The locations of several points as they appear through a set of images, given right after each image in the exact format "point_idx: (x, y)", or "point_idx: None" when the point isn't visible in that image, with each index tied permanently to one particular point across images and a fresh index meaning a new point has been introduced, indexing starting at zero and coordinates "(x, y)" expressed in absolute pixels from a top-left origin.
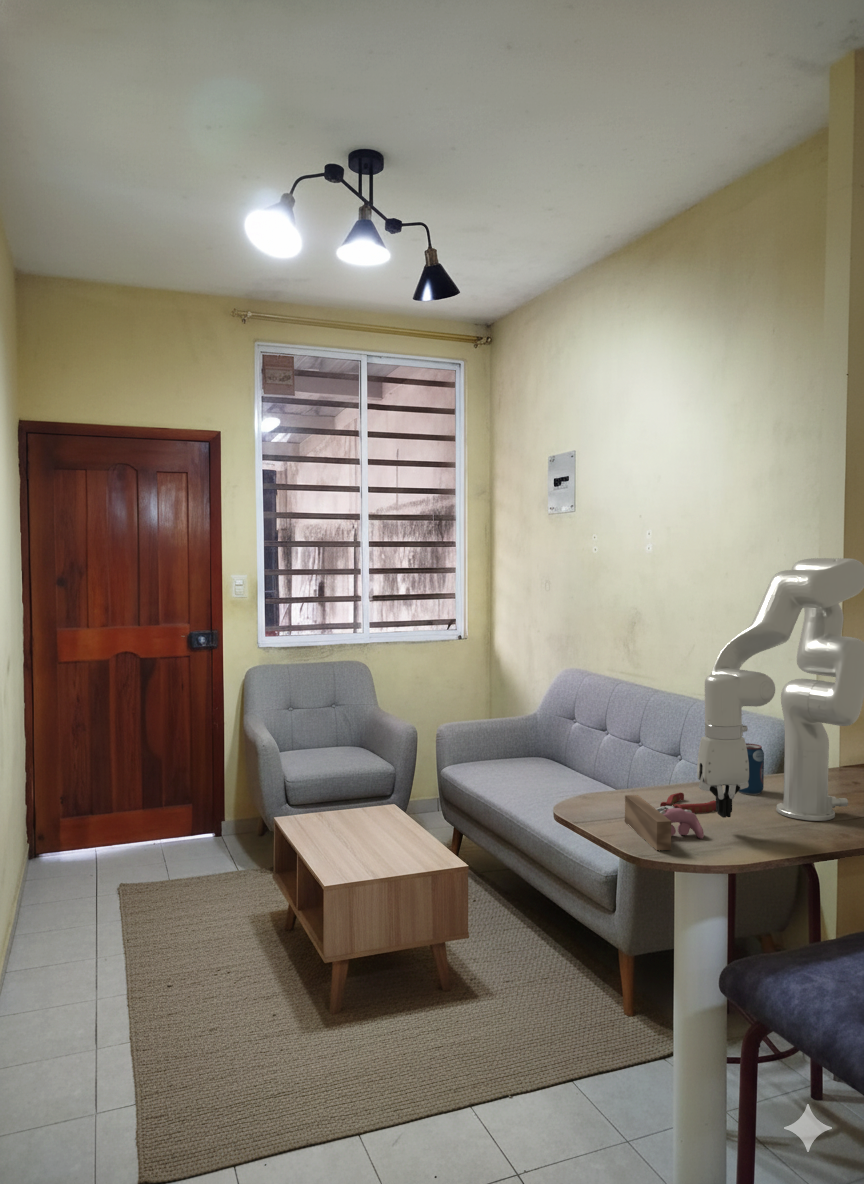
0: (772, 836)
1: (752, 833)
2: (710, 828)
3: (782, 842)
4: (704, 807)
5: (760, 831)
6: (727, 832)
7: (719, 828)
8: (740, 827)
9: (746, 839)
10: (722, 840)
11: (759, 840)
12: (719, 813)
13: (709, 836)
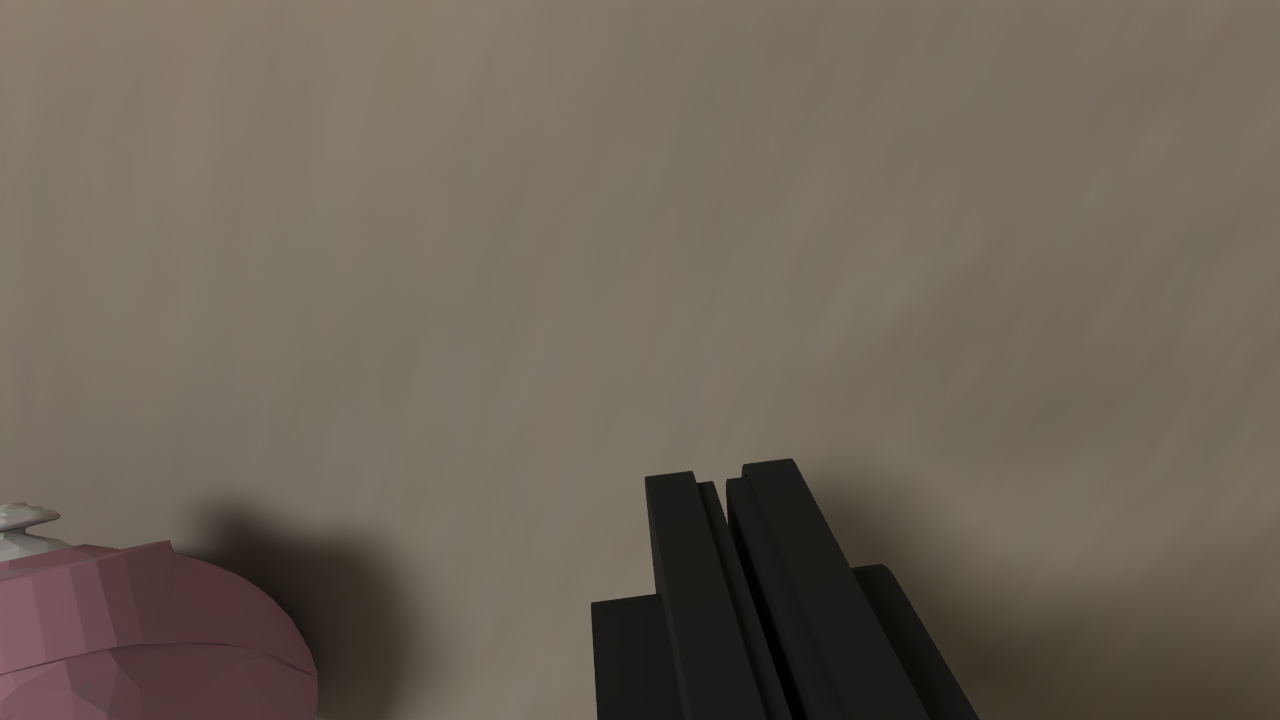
0: (1204, 506)
1: (1039, 415)
2: (547, 227)
3: (1178, 680)
4: None
5: (1186, 327)
6: (732, 398)
7: (687, 220)
8: (1022, 156)
9: None
10: (553, 693)
11: (978, 648)
12: (655, 561)
13: (431, 575)
